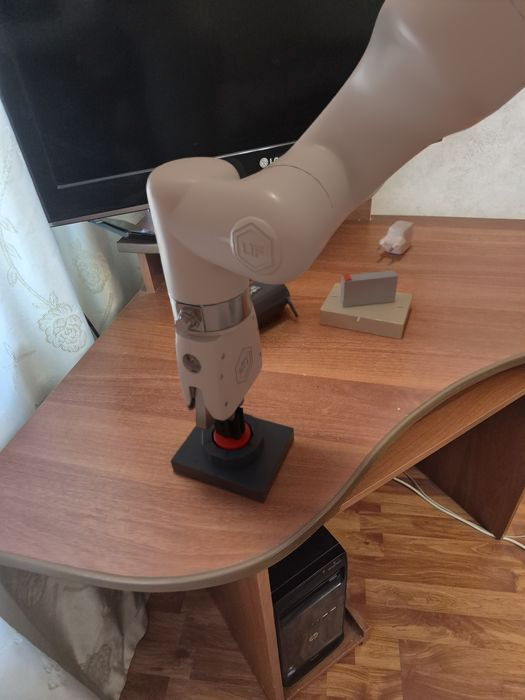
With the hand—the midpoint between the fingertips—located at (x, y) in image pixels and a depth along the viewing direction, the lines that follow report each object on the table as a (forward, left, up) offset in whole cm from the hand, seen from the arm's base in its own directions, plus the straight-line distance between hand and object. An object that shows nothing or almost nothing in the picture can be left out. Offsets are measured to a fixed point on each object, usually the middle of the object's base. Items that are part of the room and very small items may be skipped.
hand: (230, 432), depth 52 cm
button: (0, 0, -2) cm, 2 cm away
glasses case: (+10, -26, -5) cm, 28 cm away
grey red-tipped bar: (-8, -36, -1) cm, 37 cm away
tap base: (-8, -36, -4) cm, 37 cm away
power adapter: (-8, -62, -4) cm, 63 cm away
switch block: (0, 0, -4) cm, 4 cm away
